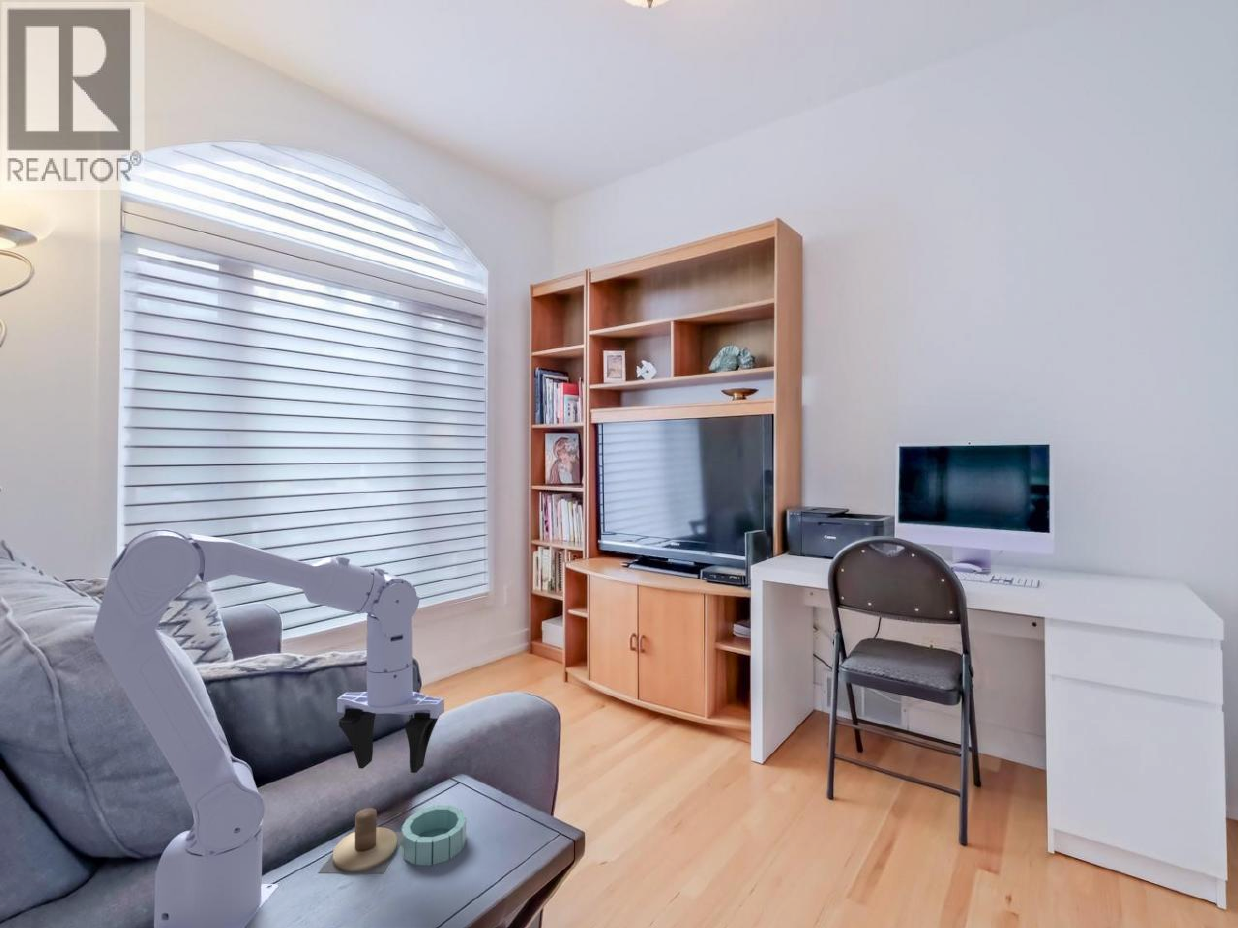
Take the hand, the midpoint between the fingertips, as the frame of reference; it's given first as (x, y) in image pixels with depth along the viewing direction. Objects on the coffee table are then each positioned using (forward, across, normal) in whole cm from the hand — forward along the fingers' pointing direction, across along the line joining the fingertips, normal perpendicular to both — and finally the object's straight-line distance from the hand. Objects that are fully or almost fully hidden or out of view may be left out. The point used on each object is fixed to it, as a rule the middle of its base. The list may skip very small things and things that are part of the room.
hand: (391, 766), depth 76 cm
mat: (+10, +2, +3) cm, 11 cm away
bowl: (+10, -6, 0) cm, 12 cm away
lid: (+10, +2, +3) cm, 10 cm away
